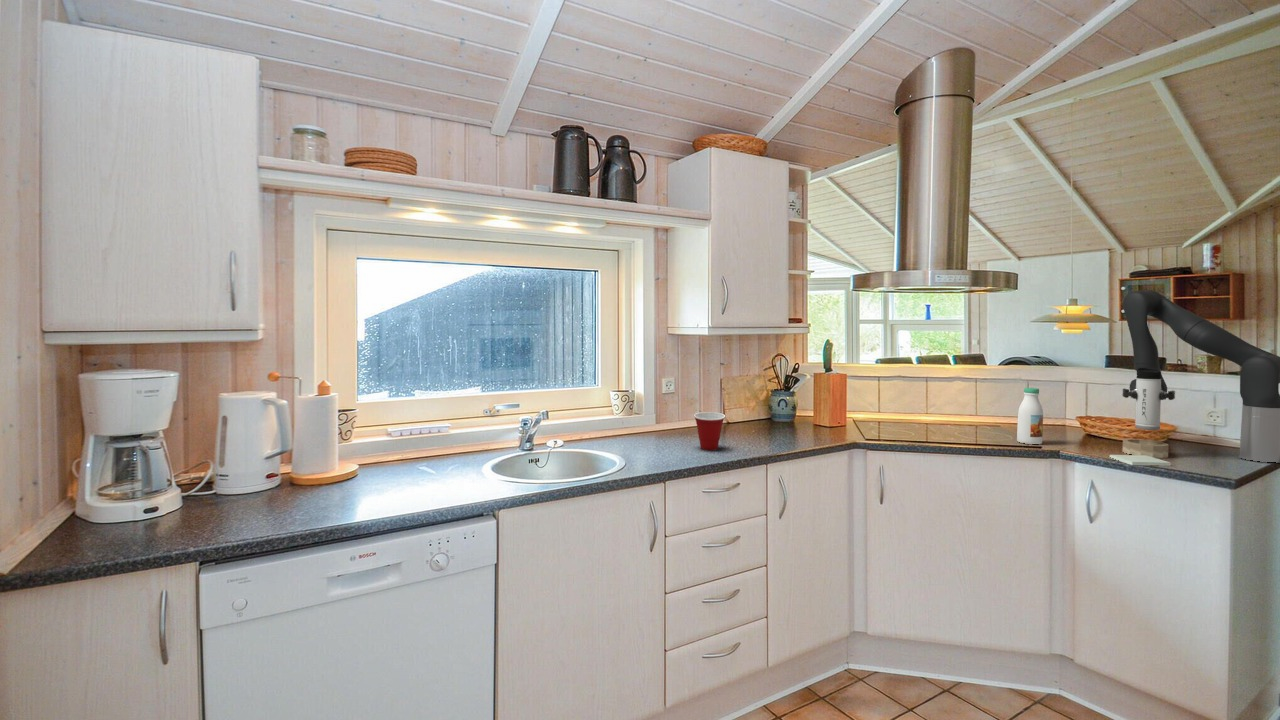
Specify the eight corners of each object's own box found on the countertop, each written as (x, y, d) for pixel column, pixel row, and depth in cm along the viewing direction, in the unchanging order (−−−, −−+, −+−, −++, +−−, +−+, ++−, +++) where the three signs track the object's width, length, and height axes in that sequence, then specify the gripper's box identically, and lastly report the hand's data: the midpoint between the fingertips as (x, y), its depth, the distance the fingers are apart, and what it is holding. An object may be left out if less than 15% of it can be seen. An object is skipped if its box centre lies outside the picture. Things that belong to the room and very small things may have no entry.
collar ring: (1150, 450, 205) (1150, 439, 205) (1176, 458, 194) (1177, 446, 194) (1114, 450, 206) (1115, 438, 206) (1139, 457, 195) (1139, 445, 195)
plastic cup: (694, 452, 202) (694, 416, 202) (692, 445, 213) (692, 411, 212) (726, 452, 202) (727, 416, 201) (723, 445, 213) (723, 411, 212)
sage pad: (1146, 458, 193) (1146, 455, 193) (1170, 465, 184) (1170, 462, 183) (1109, 457, 194) (1109, 454, 194) (1132, 465, 184) (1132, 461, 184)
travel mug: (1149, 426, 202) (1151, 367, 201) (1164, 430, 196) (1166, 369, 195) (1129, 427, 203) (1131, 367, 202) (1144, 430, 196) (1145, 369, 195)
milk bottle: (1020, 444, 216) (1022, 389, 215) (1014, 440, 223) (1016, 386, 222) (1045, 445, 214) (1047, 389, 212) (1037, 441, 221) (1040, 387, 220)
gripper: (1122, 380, 214) (1120, 383, 201) (1176, 381, 205) (1178, 385, 192) (1121, 401, 214) (1119, 406, 202) (1175, 403, 205) (1177, 409, 192)
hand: (1148, 396), depth 197 cm, fingers closed on travel mug, 6 cm apart
